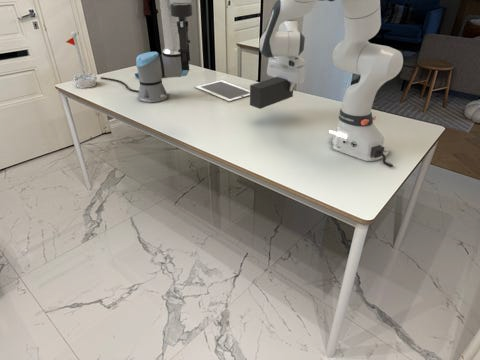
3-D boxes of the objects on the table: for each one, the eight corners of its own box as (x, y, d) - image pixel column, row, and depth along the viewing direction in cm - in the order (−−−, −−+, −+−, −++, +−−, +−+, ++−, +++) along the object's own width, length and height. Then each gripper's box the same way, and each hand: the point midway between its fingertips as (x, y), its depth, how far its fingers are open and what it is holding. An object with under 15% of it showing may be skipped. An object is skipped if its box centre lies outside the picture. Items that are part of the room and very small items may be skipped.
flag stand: (97, 80, 212) (85, 28, 195) (98, 86, 202) (85, 32, 185) (75, 83, 208) (61, 30, 191) (74, 89, 198) (59, 34, 181)
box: (282, 93, 166) (283, 74, 161) (292, 96, 162) (294, 77, 157) (249, 105, 153) (250, 85, 148) (259, 108, 149) (260, 88, 144)
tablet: (194, 87, 200) (194, 86, 200) (221, 80, 211) (221, 79, 211) (229, 101, 180) (229, 101, 180) (256, 93, 191) (256, 92, 191)
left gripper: (172, 0, 130) (178, 57, 141) (167, 8, 109) (174, 74, 120) (192, 0, 130) (196, 57, 142) (190, 7, 109) (195, 74, 121)
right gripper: (264, 55, 157) (263, 85, 165) (299, 64, 144) (296, 95, 152) (273, 53, 161) (272, 82, 168) (308, 61, 148) (305, 92, 156)
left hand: (186, 65), depth 131 cm, fingers open, 13 cm apart
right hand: (284, 88), depth 160 cm, fingers closed on box, 6 cm apart
